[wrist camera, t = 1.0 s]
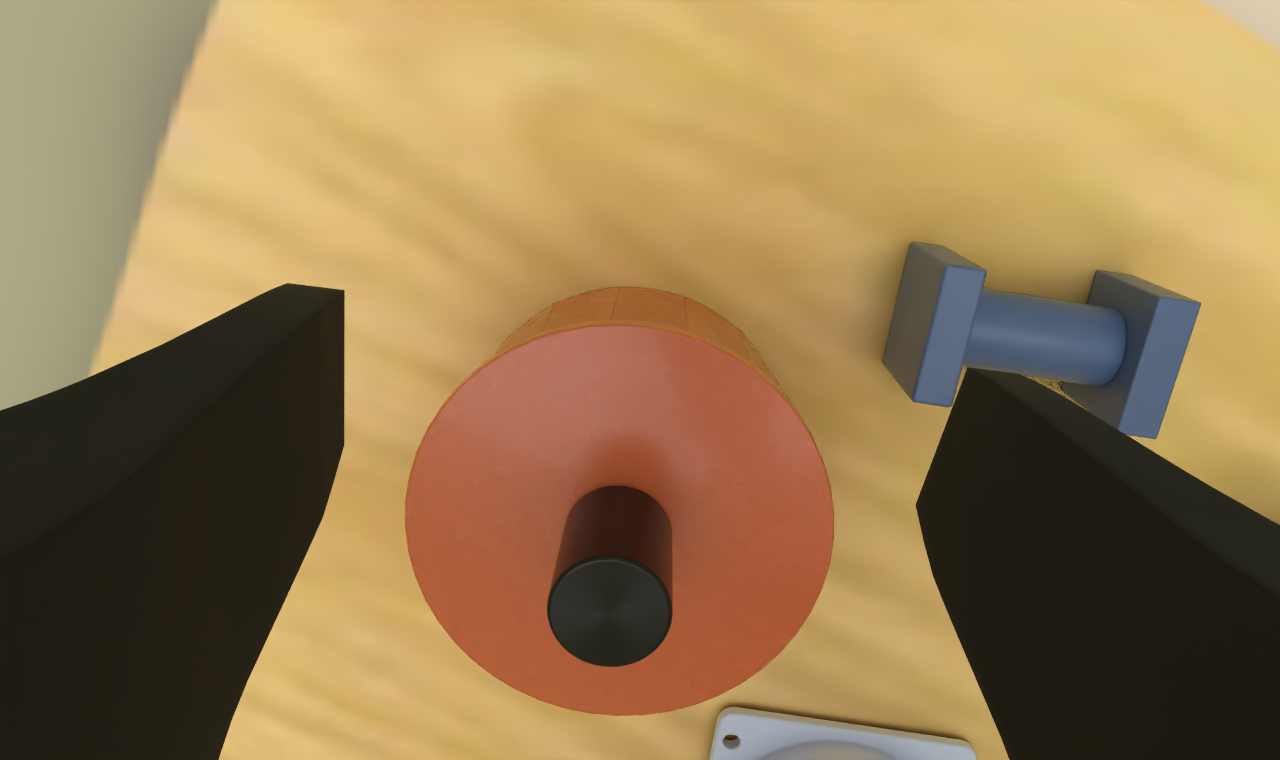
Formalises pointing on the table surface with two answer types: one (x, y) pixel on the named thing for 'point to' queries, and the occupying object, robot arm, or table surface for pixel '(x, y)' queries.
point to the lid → (619, 517)
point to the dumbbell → (1040, 338)
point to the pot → (641, 318)
